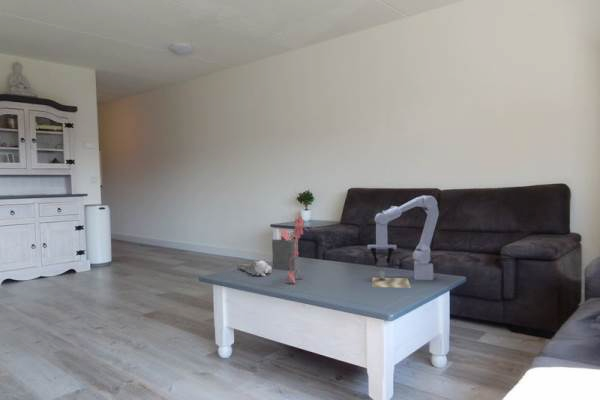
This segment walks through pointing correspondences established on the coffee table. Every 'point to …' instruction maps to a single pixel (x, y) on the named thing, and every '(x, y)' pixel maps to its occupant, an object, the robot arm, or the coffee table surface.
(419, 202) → the robot arm
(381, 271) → the post
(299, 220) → the figurine
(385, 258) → the ring
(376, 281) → the board
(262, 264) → the white lumpy shape
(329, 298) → the coffee table surface
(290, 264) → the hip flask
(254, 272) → the wrench
